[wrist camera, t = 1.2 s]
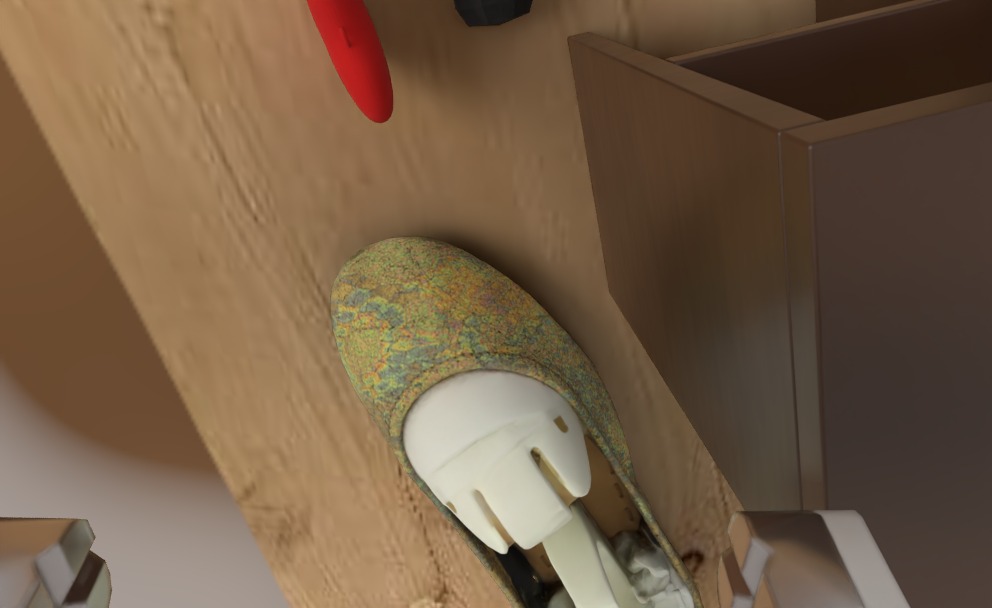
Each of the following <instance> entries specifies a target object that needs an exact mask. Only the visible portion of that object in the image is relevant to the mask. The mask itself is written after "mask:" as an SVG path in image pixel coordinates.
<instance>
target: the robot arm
mask: <svg viewBox="0 0 992 608" xmlns="http://www.w3.org/2000/svg"><path fill="white" fill-rule="evenodd" d="M727 532H728V535H729V538H730V541H731V545H732V546H731V547H730V548H728V549H727V550H726V551H725V552H723V553H722V554H721V557H720V562H719V566H718V571H717V593H718V599H719V605H720V608H910V606H909V604H908V602H907V600H906V598H905V596H904V595H903V593H902V591H901V589H900V587H899V585H898V583H897V581H896V580H895V578H894V576H893V574H892V572H891V570H890V568H889V566H888V564H887V563H886V561H885V559H884V557H883V555H882V553H881V551H880V549H879V548H878V546H877V544H876V542H875V540H874V538H873V536H872V534H871V532H870V531H869V529H868V527H867V525H866V523H865V521H864V519H863V517H862V516H861V515H860V514H858V513H857V512H856V511H855V510H816V511H811V510H784V511H739V512H735V514H734V515H733V516H732V517H731V520H730V523H729V527H728V530H727ZM94 539H95V535H94V533H93V531H92V529H91V527H90V524H89V522H88V520H86V519H66V518H64V519H63V518H7V517H6V518H5V517H4V518H3V517H0V608H109V603H110V597H111V592H112V588H111V579H110V572H109V569H108V567H107V564H106V562H105V560H103V559H102V558H101V557H99V556H98V555H96V554H95V553H93V552H92V551H90V548H91V546H92V544H93V541H94Z"/></svg>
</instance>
